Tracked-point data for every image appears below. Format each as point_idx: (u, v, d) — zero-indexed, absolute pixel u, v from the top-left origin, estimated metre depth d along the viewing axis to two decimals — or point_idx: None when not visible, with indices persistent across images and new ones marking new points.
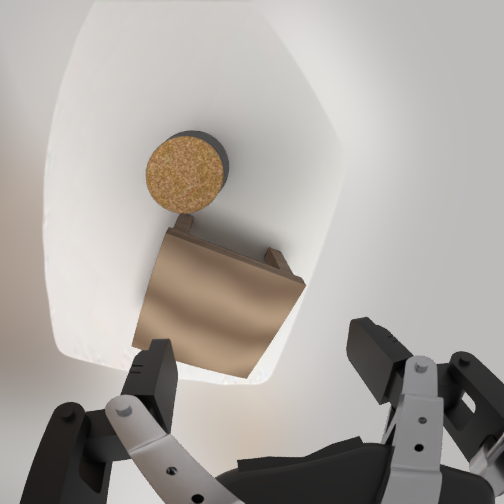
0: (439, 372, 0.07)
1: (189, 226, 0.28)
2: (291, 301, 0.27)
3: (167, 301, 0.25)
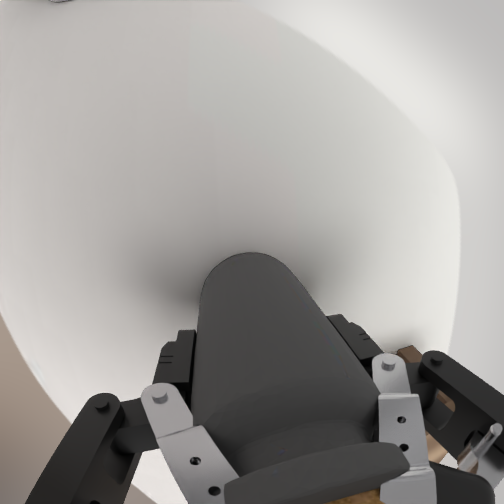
0: (409, 371, 0.08)
1: None
2: None
3: None
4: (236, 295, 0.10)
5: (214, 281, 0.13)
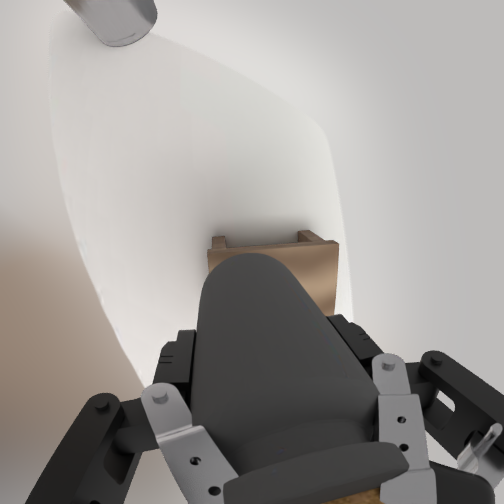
0: (409, 371, 0.08)
1: (224, 243, 0.33)
2: (334, 262, 0.29)
3: None
4: (235, 295, 0.10)
5: (214, 281, 0.13)
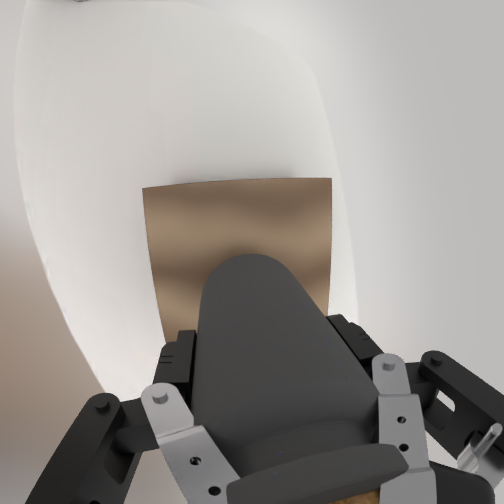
0: (409, 371, 0.08)
1: None
2: (326, 206, 0.20)
3: (180, 272, 0.20)
4: (236, 296, 0.10)
5: (214, 282, 0.13)
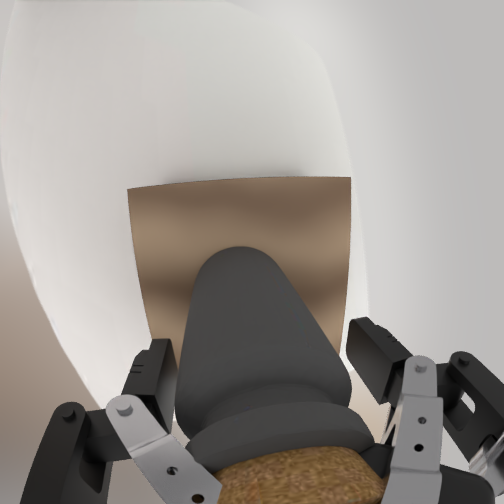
0: (438, 372, 0.07)
1: None
2: (344, 210, 0.17)
3: (173, 288, 0.17)
4: (221, 281, 0.12)
5: (204, 271, 0.15)
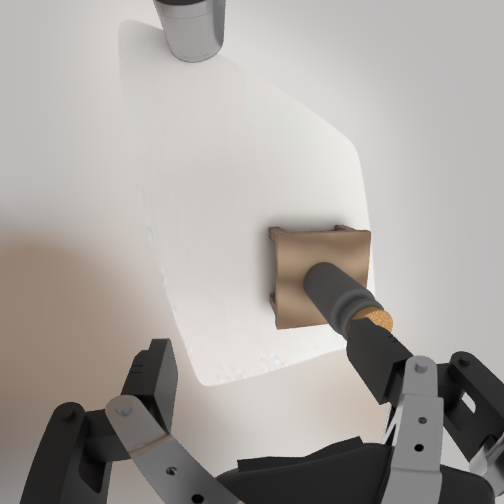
0: (439, 372, 0.07)
1: (283, 230, 0.41)
2: (367, 246, 0.38)
3: (293, 281, 0.38)
4: (330, 275, 0.32)
5: (315, 272, 0.35)
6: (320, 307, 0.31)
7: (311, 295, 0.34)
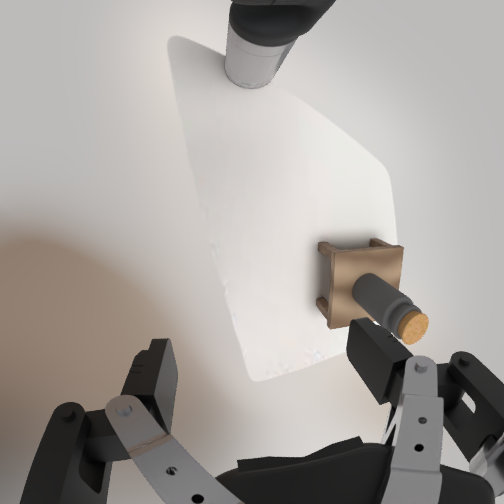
0: (439, 372, 0.07)
1: (333, 246, 0.47)
2: (400, 259, 0.44)
3: (345, 289, 0.44)
4: (378, 286, 0.39)
5: (364, 283, 0.42)
6: (372, 311, 0.37)
7: (362, 301, 0.41)
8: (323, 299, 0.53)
